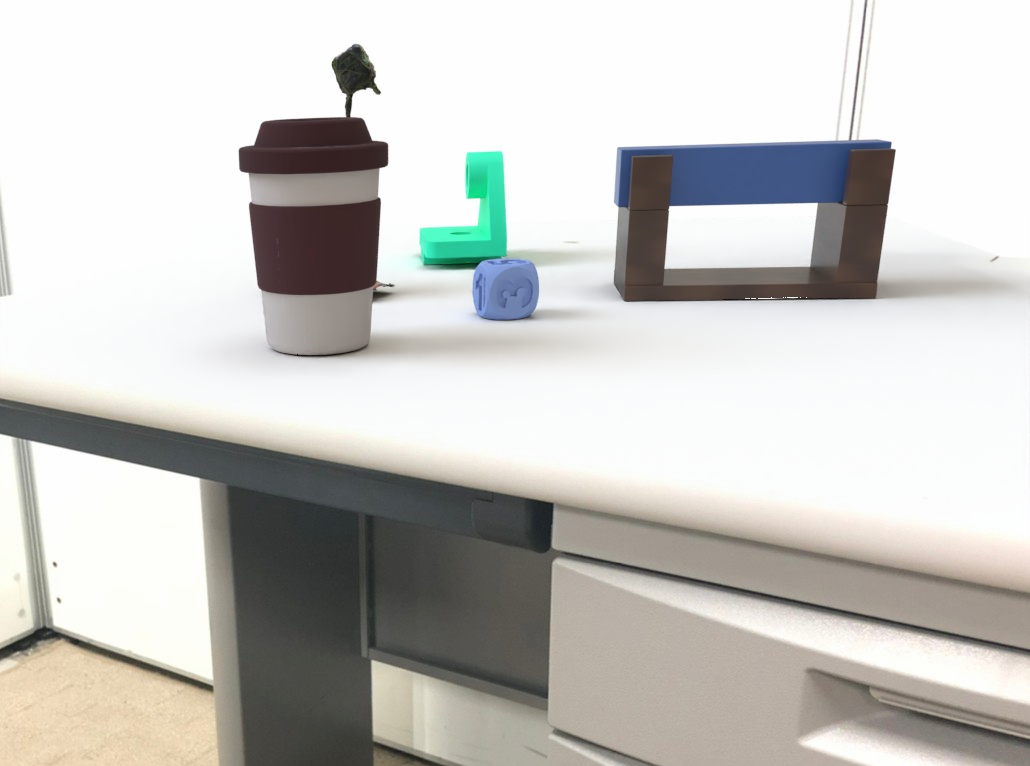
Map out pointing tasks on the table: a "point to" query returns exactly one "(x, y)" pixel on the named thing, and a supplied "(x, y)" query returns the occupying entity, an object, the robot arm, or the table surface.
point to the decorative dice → (505, 288)
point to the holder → (832, 273)
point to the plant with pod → (355, 83)
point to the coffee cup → (315, 230)
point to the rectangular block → (749, 172)
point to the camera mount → (491, 231)
